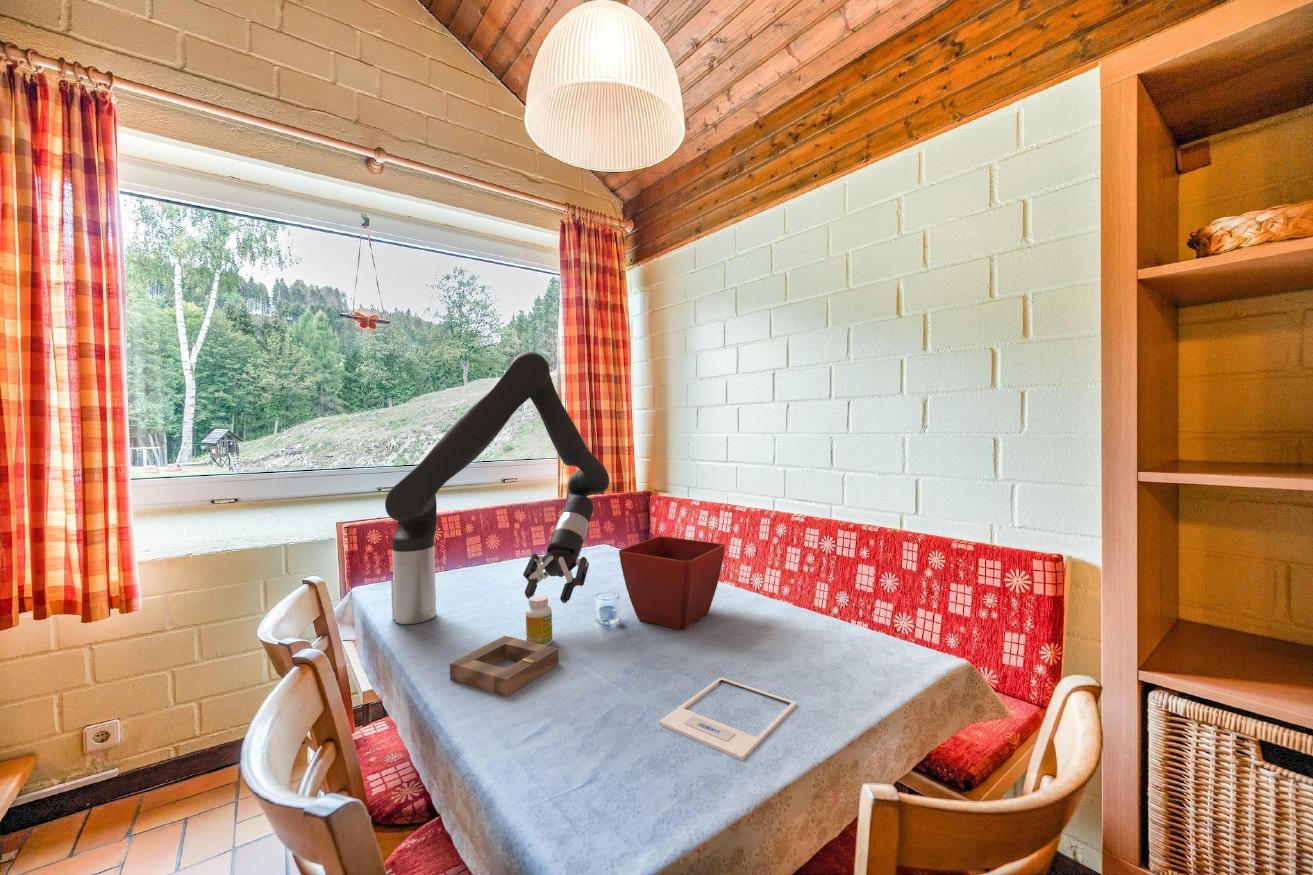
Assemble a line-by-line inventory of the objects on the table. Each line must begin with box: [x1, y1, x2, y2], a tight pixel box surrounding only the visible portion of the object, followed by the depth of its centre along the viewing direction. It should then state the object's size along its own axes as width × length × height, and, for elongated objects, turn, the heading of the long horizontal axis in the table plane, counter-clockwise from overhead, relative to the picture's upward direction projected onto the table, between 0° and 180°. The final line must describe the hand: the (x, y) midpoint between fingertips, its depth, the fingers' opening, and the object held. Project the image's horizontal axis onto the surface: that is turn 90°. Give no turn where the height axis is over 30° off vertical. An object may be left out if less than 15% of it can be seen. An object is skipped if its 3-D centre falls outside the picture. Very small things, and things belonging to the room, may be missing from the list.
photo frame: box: [658, 676, 798, 762], centre depth 86 cm, size 15×1×18 cm
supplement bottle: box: [525, 594, 553, 646], centre depth 115 cm, size 5×5×10 cm
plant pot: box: [618, 535, 726, 631], centre depth 129 cm, size 19×19×17 cm
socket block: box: [449, 635, 560, 697], centre depth 102 cm, size 14×14×3 cm
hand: (545, 599), depth 118 cm, fingers open, 8 cm apart
